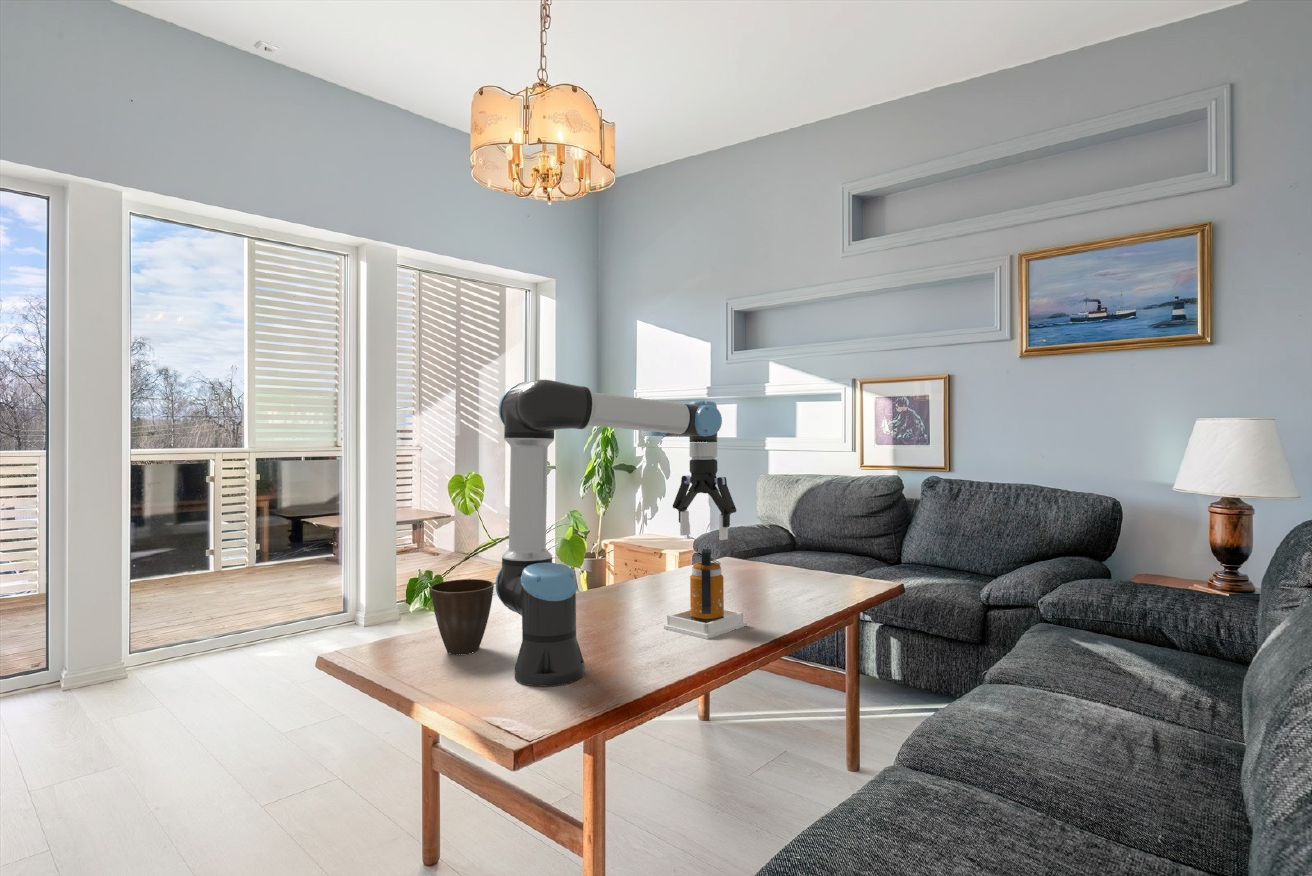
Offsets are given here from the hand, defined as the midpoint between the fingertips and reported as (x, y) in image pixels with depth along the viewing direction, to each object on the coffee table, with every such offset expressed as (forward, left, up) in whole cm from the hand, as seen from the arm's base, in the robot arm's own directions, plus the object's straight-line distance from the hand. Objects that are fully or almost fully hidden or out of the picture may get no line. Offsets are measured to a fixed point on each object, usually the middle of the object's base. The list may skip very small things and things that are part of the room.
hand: (703, 537), depth 191 cm
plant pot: (-55, +31, -25) cm, 67 cm away
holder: (0, 0, -24) cm, 24 cm away
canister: (0, -1, -24) cm, 24 cm away
